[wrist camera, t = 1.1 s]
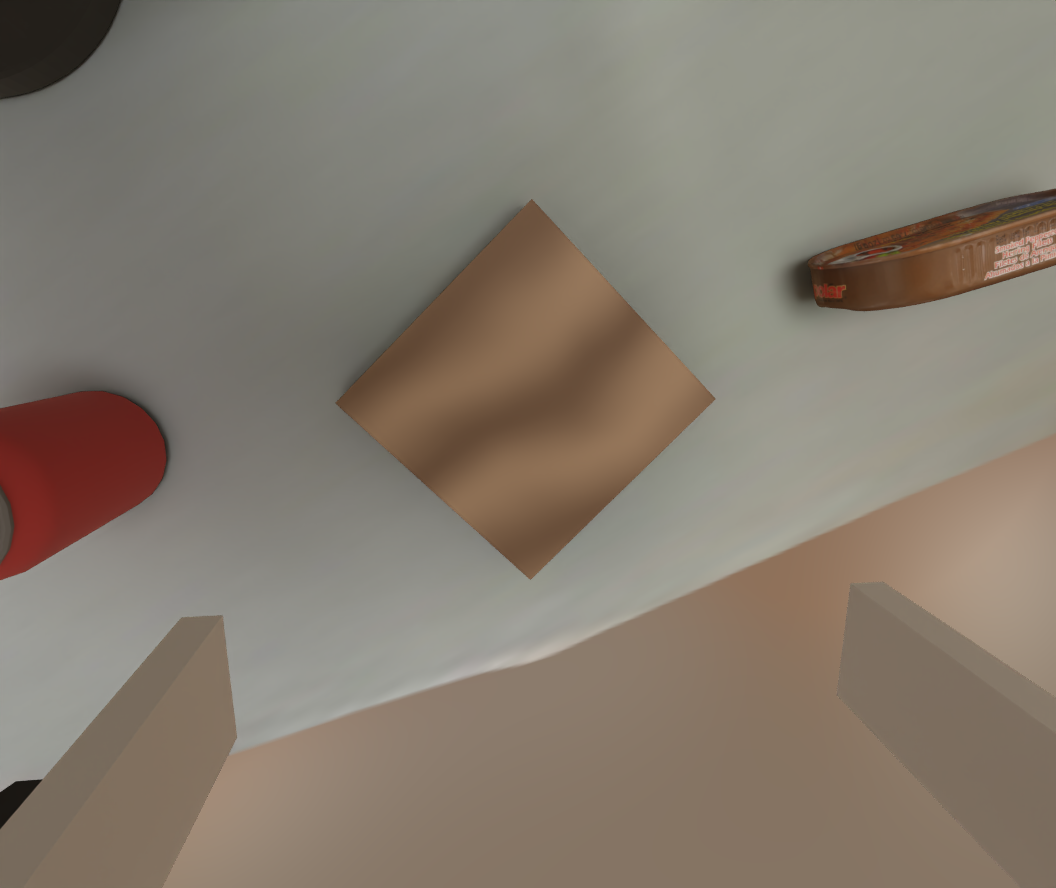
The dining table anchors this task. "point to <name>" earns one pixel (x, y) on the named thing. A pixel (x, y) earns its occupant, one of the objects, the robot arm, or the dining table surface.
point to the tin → (940, 255)
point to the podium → (527, 393)
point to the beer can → (71, 471)
